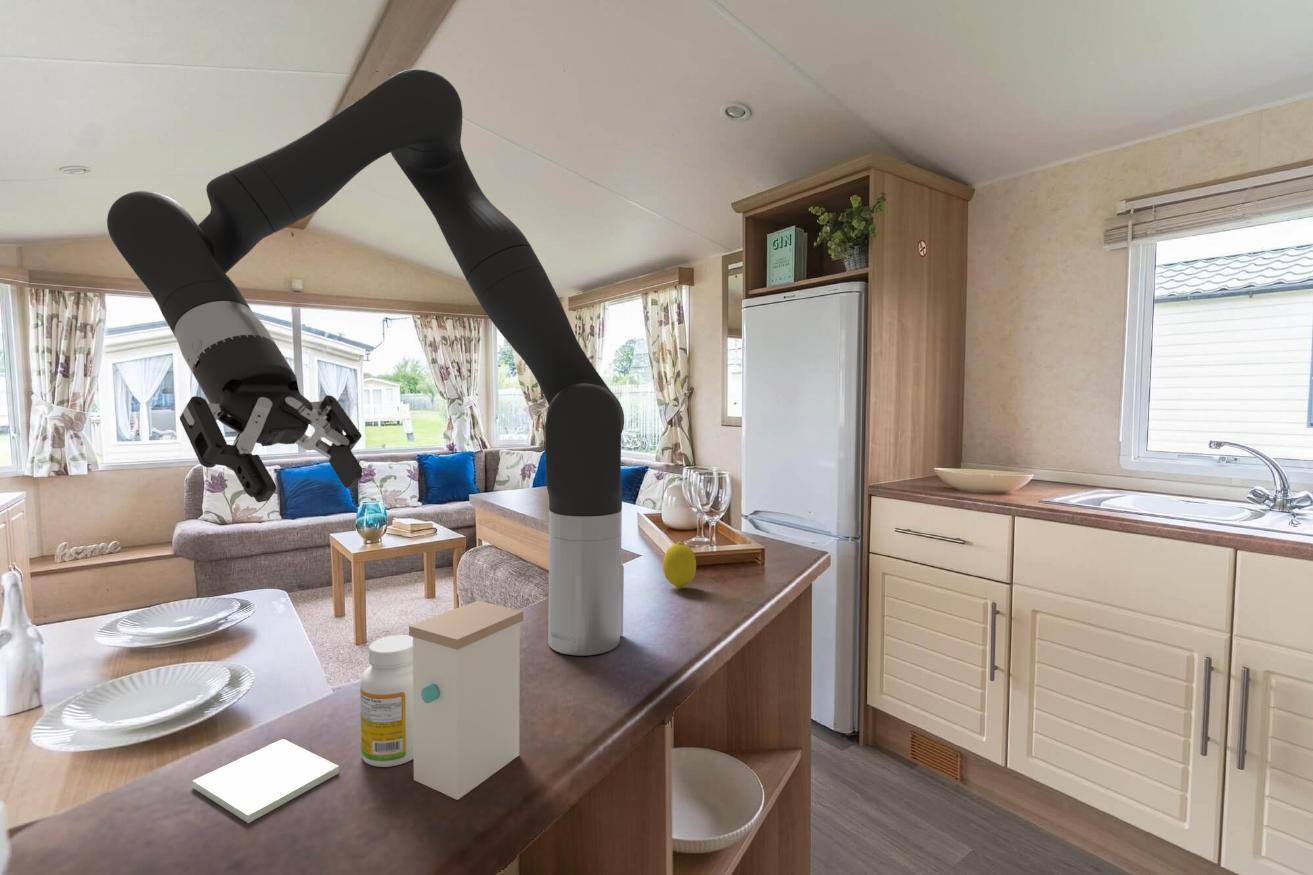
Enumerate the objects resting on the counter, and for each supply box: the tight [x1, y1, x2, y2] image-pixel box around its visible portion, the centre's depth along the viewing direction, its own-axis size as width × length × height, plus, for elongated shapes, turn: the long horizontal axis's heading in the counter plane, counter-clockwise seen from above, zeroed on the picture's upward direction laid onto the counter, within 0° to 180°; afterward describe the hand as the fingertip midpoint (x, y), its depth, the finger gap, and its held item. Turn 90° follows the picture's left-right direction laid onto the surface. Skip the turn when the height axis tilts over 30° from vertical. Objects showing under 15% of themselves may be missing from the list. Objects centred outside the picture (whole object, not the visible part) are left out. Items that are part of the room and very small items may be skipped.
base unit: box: [408, 600, 524, 801], centre depth 51 cm, size 8×5×13 cm
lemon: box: [662, 541, 697, 590], centre depth 102 cm, size 6×6×8 cm
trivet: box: [192, 738, 340, 824], centre depth 49 cm, size 7×8×1 cm
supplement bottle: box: [359, 634, 414, 768], centre depth 53 cm, size 5×5×10 cm
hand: (314, 489), depth 56 cm, fingers open, 8 cm apart
